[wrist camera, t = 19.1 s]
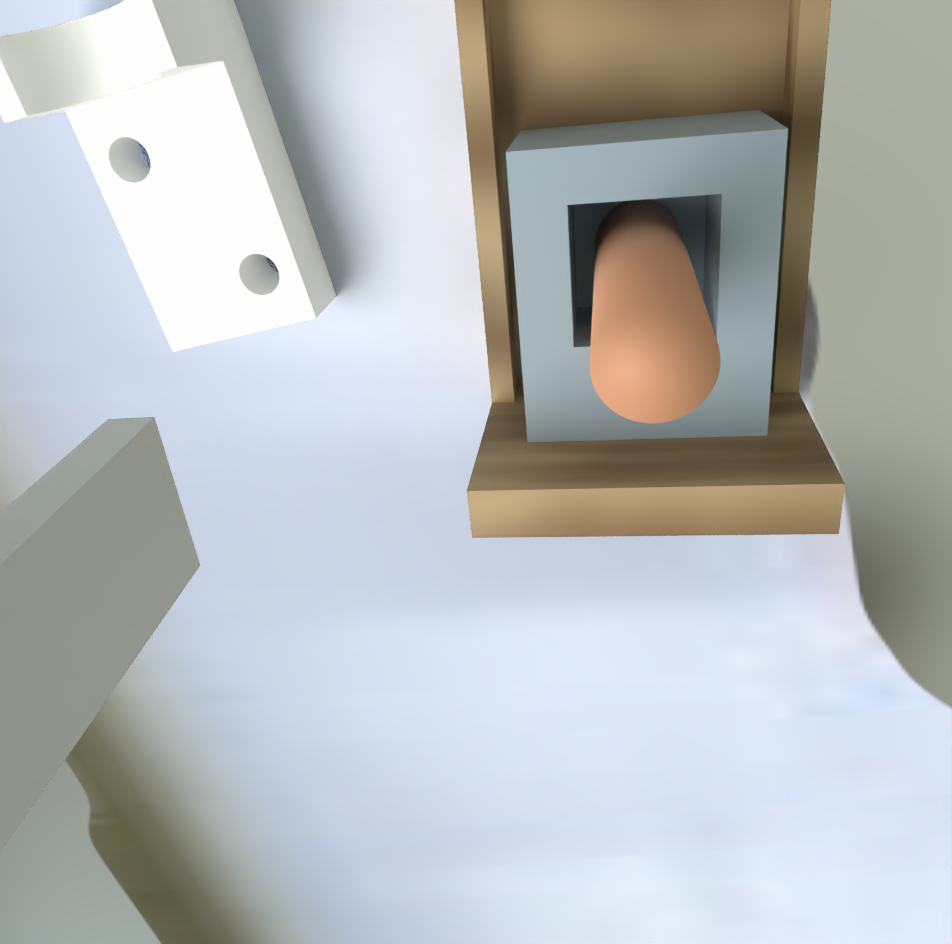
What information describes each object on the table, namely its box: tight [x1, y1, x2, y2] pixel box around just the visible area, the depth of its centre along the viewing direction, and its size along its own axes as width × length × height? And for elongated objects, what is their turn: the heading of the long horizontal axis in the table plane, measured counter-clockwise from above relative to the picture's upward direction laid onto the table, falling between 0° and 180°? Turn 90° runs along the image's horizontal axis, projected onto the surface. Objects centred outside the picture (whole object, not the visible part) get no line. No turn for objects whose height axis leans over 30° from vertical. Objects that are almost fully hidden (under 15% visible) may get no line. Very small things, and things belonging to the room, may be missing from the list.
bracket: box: [0, 0, 336, 352], centre depth 35 cm, size 13×7×8 cm, turn 15°
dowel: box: [590, 199, 721, 423], centre depth 29 cm, size 3×3×14 cm
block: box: [506, 110, 788, 442], centre depth 34 cm, size 11×9×6 cm
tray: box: [454, 0, 845, 538], centre depth 30 cm, size 26×13×11 cm, turn 5°
